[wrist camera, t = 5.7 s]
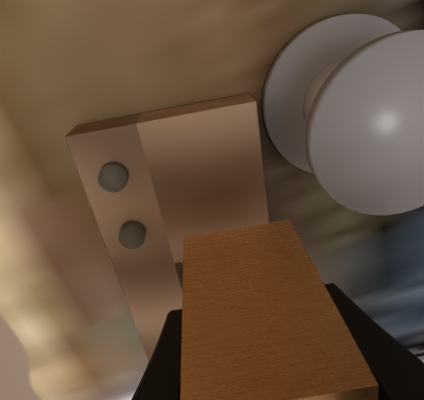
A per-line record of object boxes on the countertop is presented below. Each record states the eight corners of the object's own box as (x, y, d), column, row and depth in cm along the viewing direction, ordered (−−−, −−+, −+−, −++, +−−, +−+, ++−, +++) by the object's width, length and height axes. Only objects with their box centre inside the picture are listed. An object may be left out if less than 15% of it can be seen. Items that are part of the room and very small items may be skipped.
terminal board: (277, 337, 23) (287, 369, 21) (159, 358, 23) (156, 392, 21) (248, 93, 16) (258, 104, 14) (77, 125, 16) (60, 141, 14)
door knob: (404, 155, 18) (491, 208, 13) (268, 180, 18) (301, 242, 13) (418, -1, 15) (541, -12, 10) (253, 31, 15) (288, 35, 10)
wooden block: (295, 300, 13) (372, 491, 8) (202, 316, 13) (212, 517, 8) (289, 219, 11) (378, 385, 6) (183, 238, 12) (179, 418, 6)
